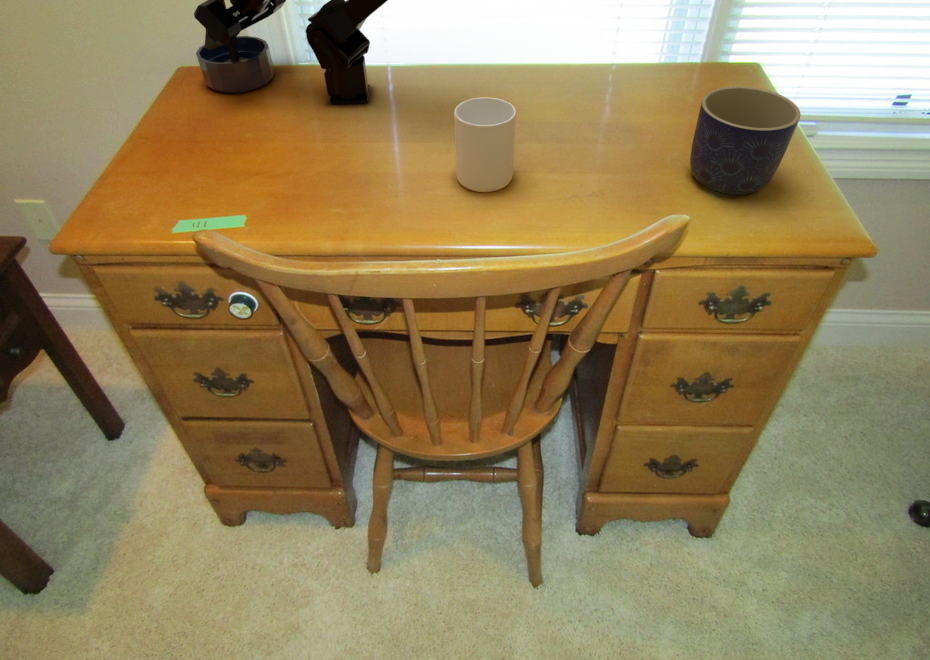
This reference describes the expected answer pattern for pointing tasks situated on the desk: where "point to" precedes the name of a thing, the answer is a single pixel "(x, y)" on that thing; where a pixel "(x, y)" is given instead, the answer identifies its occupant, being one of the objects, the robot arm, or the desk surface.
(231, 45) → the brown plunger
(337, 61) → the robot arm
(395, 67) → the desk surface
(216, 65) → the bowl
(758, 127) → the planter
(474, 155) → the mug
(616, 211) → the desk surface
